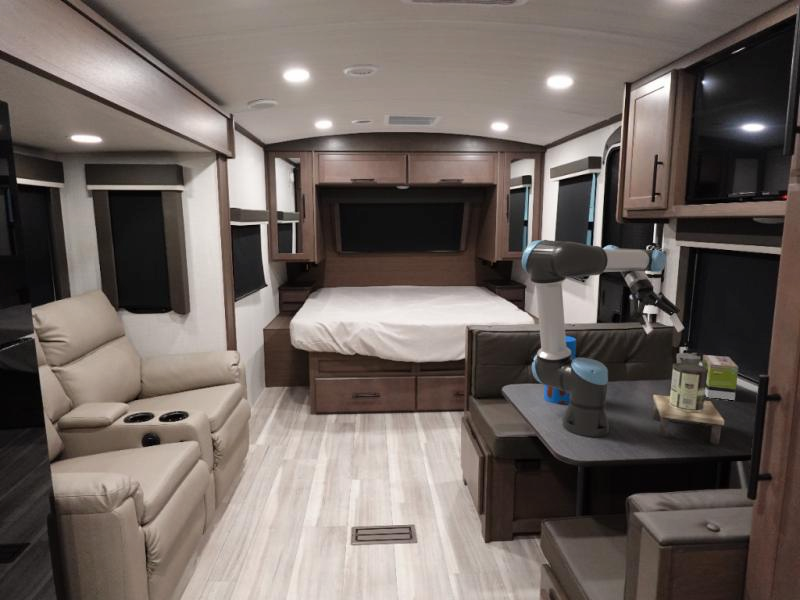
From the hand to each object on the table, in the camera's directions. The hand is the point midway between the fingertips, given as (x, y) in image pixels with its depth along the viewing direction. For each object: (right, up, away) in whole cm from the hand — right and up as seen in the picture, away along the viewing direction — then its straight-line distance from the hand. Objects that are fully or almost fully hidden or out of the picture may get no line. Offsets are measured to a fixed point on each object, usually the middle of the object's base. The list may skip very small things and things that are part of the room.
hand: (665, 331), depth 179 cm
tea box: (+36, -28, +28) cm, 54 cm away
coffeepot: (+26, -27, +33) cm, 50 cm away
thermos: (-33, -29, +20) cm, 48 cm away
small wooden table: (+2, -34, -8) cm, 35 cm away
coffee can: (+2, -25, -10) cm, 27 cm away
